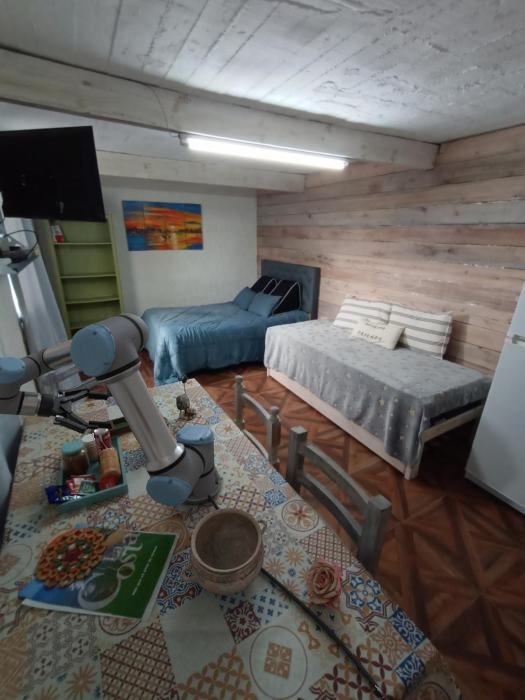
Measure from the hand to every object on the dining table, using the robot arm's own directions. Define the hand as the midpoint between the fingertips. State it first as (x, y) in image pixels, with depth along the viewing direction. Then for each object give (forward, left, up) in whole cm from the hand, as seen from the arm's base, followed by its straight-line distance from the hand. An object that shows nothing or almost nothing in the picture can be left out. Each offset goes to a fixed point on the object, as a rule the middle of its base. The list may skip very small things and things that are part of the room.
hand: (108, 410), depth 115 cm
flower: (-80, -33, -21) cm, 89 cm away
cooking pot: (-62, -16, -21) cm, 68 cm away
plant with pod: (+13, -34, -21) cm, 42 cm away
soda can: (+3, +3, -21) cm, 21 cm away
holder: (+19, -2, -21) cm, 28 cm away
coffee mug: (+1, -18, -21) cm, 27 cm away
